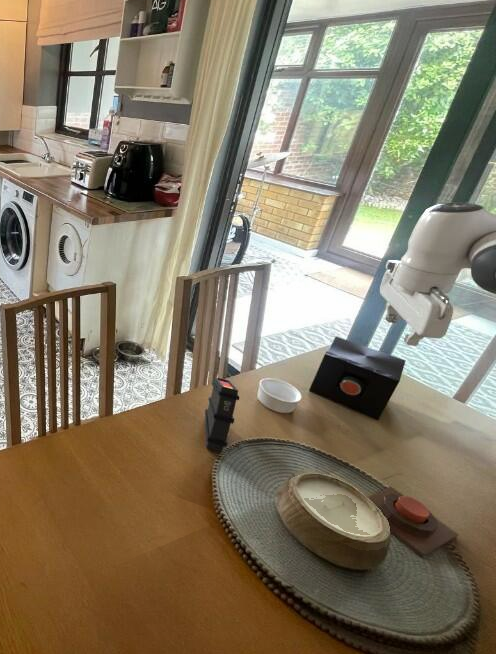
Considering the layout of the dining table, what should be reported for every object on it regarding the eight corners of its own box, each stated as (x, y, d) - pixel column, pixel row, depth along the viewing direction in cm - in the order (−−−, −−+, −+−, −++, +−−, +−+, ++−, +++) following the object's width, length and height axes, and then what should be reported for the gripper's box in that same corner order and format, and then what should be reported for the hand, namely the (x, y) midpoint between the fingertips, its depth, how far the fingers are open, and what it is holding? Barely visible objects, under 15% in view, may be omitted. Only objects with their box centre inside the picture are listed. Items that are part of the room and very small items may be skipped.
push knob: (357, 398, 99) (363, 385, 97) (337, 390, 101) (343, 378, 100) (359, 393, 100) (365, 380, 99) (339, 385, 103) (345, 373, 101)
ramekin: (287, 394, 107) (293, 381, 105) (302, 418, 99) (308, 404, 98) (250, 388, 109) (254, 375, 107) (261, 411, 101) (267, 398, 99)
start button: (430, 519, 72) (435, 512, 71) (416, 526, 71) (421, 520, 70) (403, 499, 76) (407, 493, 75) (389, 506, 74) (393, 499, 74)
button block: (451, 544, 72) (464, 528, 70) (416, 564, 69) (429, 548, 67) (384, 495, 81) (394, 479, 79) (351, 511, 78) (361, 495, 76)
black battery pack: (206, 454, 87) (220, 386, 87) (199, 434, 100) (212, 375, 99) (226, 460, 86) (240, 391, 86) (217, 440, 98) (229, 379, 98)
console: (377, 420, 99) (399, 381, 94) (308, 390, 108) (325, 353, 103) (385, 397, 106) (405, 360, 101) (319, 371, 116) (335, 336, 111)
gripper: (474, 303, 77) (443, 362, 83) (419, 260, 94) (396, 311, 100) (430, 299, 79) (403, 356, 85) (384, 257, 96) (364, 308, 102)
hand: (399, 332), depth 93 cm, fingers open, 8 cm apart
